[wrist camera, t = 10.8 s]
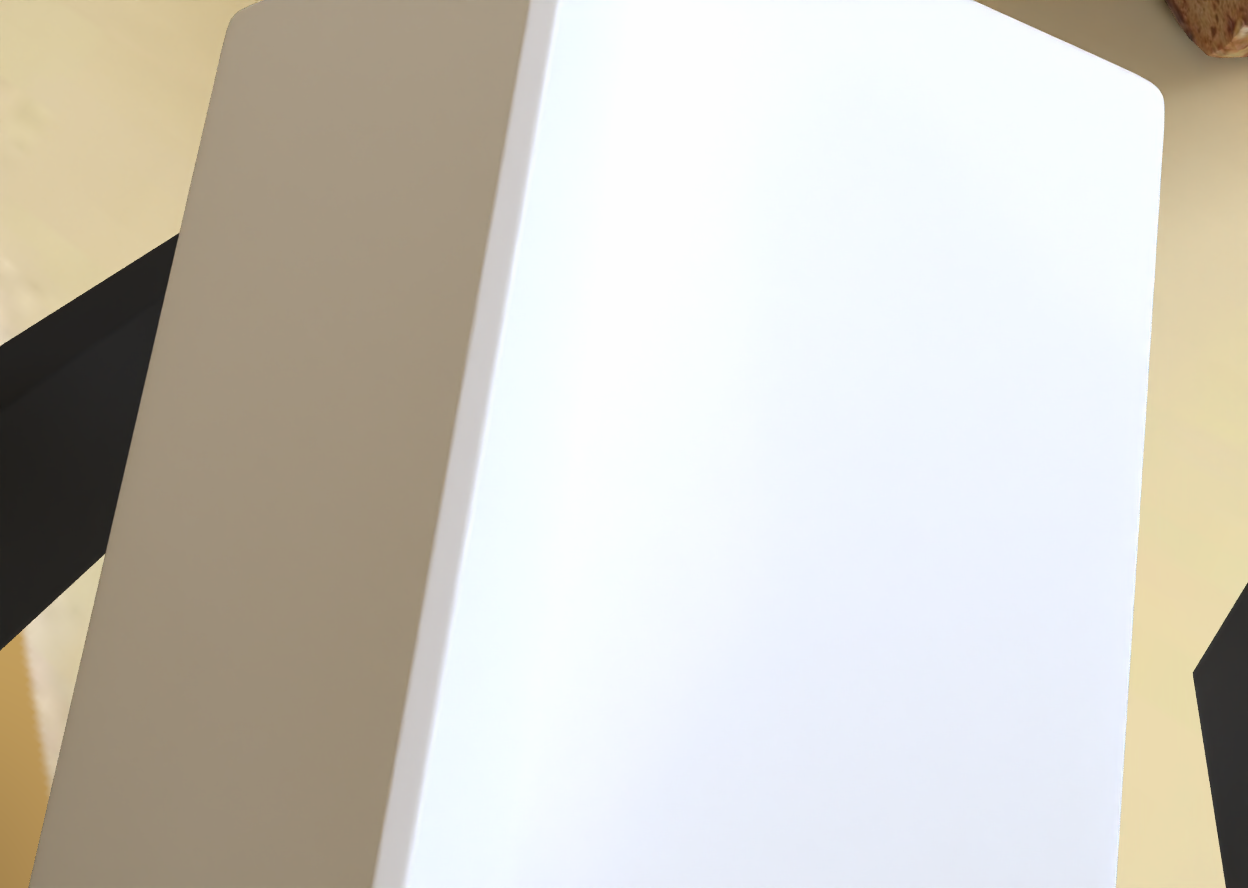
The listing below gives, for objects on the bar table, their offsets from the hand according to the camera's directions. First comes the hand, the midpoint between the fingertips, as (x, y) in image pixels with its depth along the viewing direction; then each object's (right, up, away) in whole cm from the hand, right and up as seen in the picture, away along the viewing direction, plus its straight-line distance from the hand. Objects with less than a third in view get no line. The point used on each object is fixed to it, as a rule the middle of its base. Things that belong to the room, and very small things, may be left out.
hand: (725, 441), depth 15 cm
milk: (0, -4, +10) cm, 11 cm away
